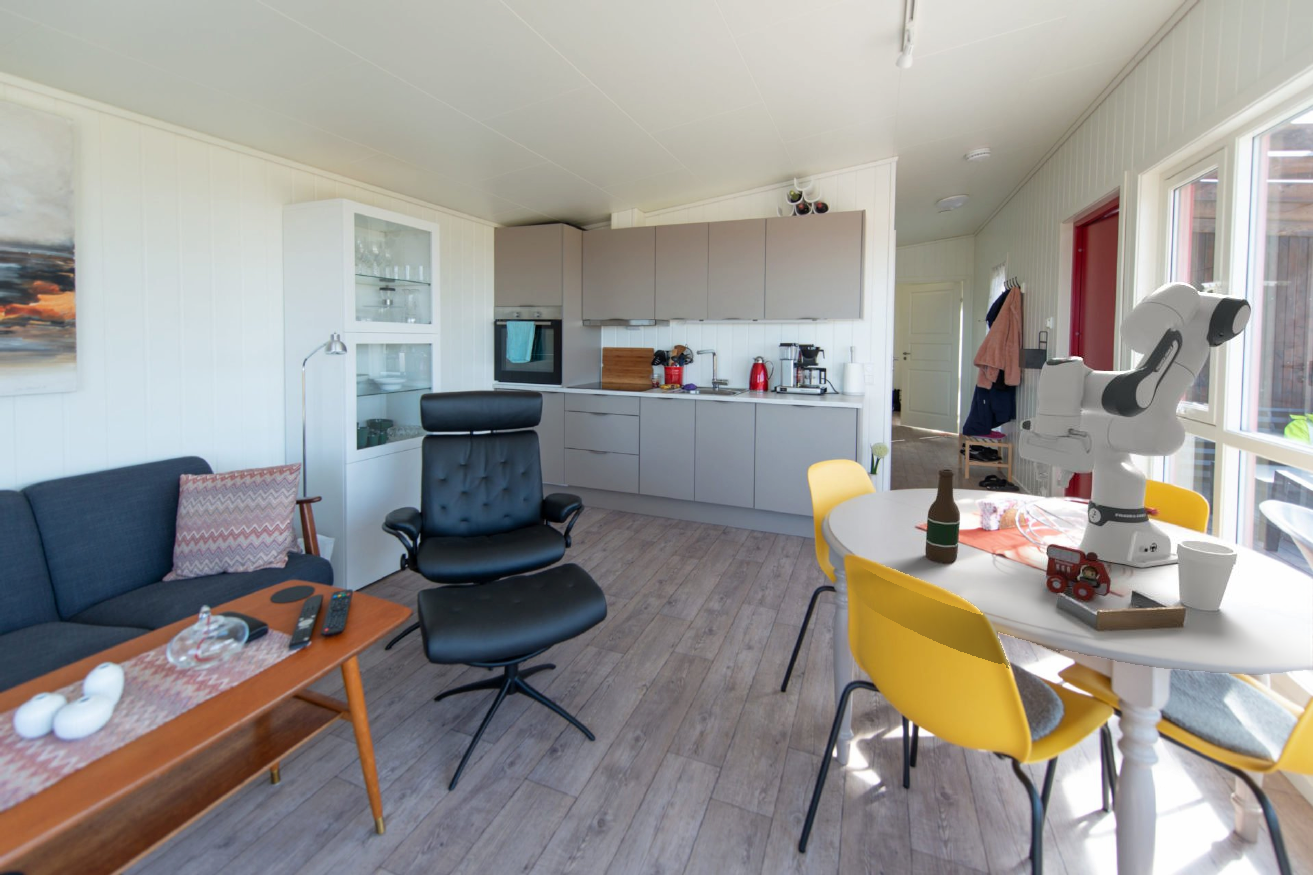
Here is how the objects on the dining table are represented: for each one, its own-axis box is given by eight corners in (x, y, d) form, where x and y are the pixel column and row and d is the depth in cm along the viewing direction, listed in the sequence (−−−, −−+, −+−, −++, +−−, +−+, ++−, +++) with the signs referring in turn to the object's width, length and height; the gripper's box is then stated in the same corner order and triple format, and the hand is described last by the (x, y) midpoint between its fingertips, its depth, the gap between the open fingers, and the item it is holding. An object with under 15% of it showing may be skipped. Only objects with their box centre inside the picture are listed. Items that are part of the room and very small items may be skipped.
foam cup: (1159, 596, 132) (1166, 540, 130) (1197, 594, 133) (1204, 538, 131) (1201, 615, 123) (1209, 555, 121) (1241, 613, 124) (1250, 553, 122)
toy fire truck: (1102, 606, 128) (1107, 560, 126) (1037, 588, 137) (1041, 545, 136) (1112, 598, 132) (1117, 553, 130) (1049, 581, 141) (1053, 539, 140)
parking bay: (1134, 602, 129) (1137, 585, 128) (1183, 626, 118) (1186, 608, 117) (1056, 606, 128) (1058, 588, 127) (1098, 630, 117) (1100, 611, 116)
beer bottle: (944, 565, 152) (950, 474, 148) (918, 556, 159) (923, 469, 155) (963, 560, 155) (970, 471, 152) (937, 551, 162) (943, 466, 158)
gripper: (1106, 432, 129) (1099, 494, 131) (1039, 420, 149) (1034, 474, 151) (1078, 433, 128) (1072, 495, 130) (1015, 421, 148) (1011, 475, 151)
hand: (1051, 483), depth 141 cm, fingers open, 5 cm apart
